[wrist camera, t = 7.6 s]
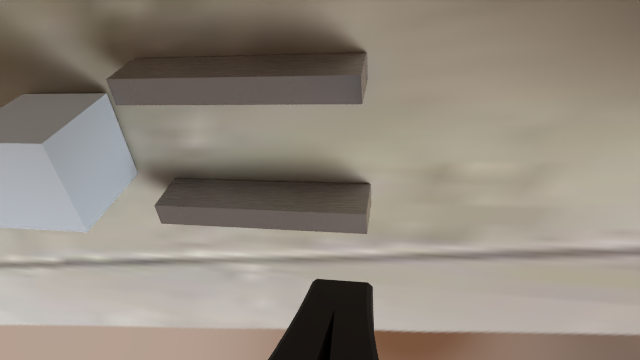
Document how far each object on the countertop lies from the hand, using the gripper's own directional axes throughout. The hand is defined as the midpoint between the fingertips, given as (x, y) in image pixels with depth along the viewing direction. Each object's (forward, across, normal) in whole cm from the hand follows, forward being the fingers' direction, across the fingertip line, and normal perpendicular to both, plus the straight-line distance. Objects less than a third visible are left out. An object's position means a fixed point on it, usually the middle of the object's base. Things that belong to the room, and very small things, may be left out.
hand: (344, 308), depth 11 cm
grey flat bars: (+8, +5, 0) cm, 10 cm away
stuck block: (+8, +13, 0) cm, 15 cm away
